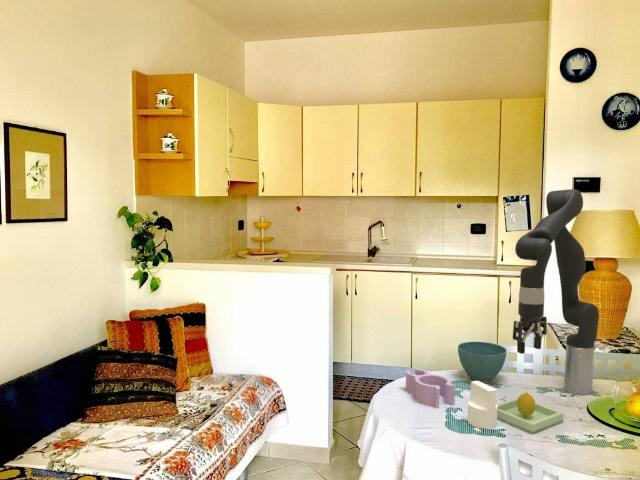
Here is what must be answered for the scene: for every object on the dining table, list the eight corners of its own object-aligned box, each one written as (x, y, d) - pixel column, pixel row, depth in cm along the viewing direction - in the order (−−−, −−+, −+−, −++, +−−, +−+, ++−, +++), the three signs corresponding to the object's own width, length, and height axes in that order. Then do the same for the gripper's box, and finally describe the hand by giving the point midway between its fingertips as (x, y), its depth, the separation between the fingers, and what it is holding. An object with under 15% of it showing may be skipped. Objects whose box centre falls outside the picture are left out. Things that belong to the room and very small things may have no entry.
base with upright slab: (461, 419, 175) (462, 382, 173) (483, 414, 178) (485, 379, 177) (480, 430, 166) (481, 392, 165) (503, 425, 170) (504, 388, 169)
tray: (519, 405, 186) (520, 396, 186) (563, 422, 173) (563, 413, 173) (489, 415, 177) (489, 406, 177) (532, 434, 164) (532, 424, 164)
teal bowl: (495, 390, 200) (497, 358, 198) (449, 379, 211) (450, 348, 209) (511, 377, 214) (513, 347, 213) (467, 367, 225) (468, 338, 224)
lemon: (513, 413, 177) (514, 389, 177) (530, 413, 178) (530, 389, 177) (521, 420, 172) (521, 396, 171) (538, 420, 172) (538, 395, 172)
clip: (397, 390, 200) (397, 371, 199) (424, 385, 205) (425, 367, 204) (431, 410, 182) (432, 390, 181) (460, 404, 187) (461, 384, 187)
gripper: (534, 296, 178) (532, 344, 180) (507, 301, 170) (505, 351, 172) (555, 300, 172) (553, 350, 174) (527, 305, 164) (525, 357, 166)
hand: (529, 350), depth 173 cm, fingers open, 8 cm apart
